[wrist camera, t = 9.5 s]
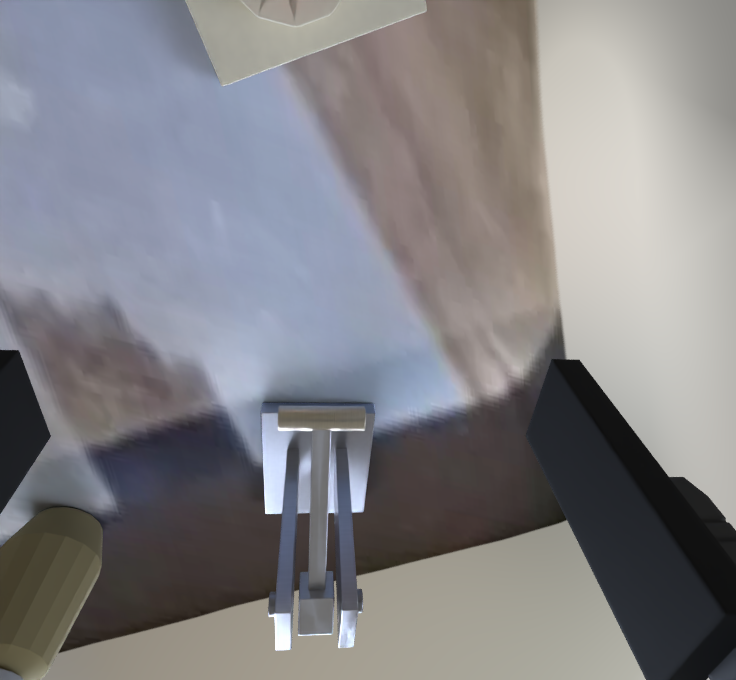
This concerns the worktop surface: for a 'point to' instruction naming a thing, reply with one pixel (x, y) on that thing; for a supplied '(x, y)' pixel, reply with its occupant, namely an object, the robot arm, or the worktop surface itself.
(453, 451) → the worktop surface
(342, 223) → the worktop surface
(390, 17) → the button block
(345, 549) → the press bracket
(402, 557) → the worktop surface
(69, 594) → the squeeze bottle
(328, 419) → the metal lever
